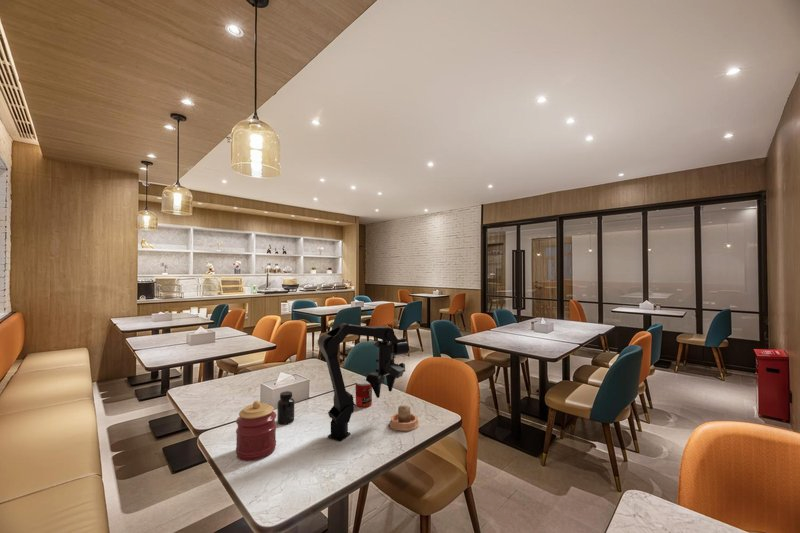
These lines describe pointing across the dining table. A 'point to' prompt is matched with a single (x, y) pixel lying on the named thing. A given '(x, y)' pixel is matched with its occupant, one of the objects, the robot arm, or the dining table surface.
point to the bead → (404, 414)
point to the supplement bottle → (285, 408)
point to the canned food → (363, 393)
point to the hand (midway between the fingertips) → (384, 394)
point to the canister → (256, 432)
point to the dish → (404, 426)
